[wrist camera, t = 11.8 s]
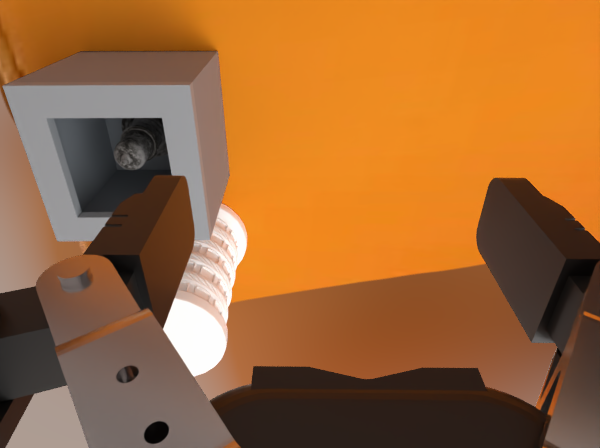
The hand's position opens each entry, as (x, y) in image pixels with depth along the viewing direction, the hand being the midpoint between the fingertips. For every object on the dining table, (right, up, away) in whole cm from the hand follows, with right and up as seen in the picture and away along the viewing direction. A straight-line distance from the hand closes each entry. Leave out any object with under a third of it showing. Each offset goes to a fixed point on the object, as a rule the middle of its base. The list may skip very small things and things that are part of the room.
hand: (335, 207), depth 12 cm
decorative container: (-14, -2, +45) cm, 47 cm away
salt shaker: (-16, +11, +36) cm, 41 cm away
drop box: (-16, +11, +36) cm, 42 cm away
